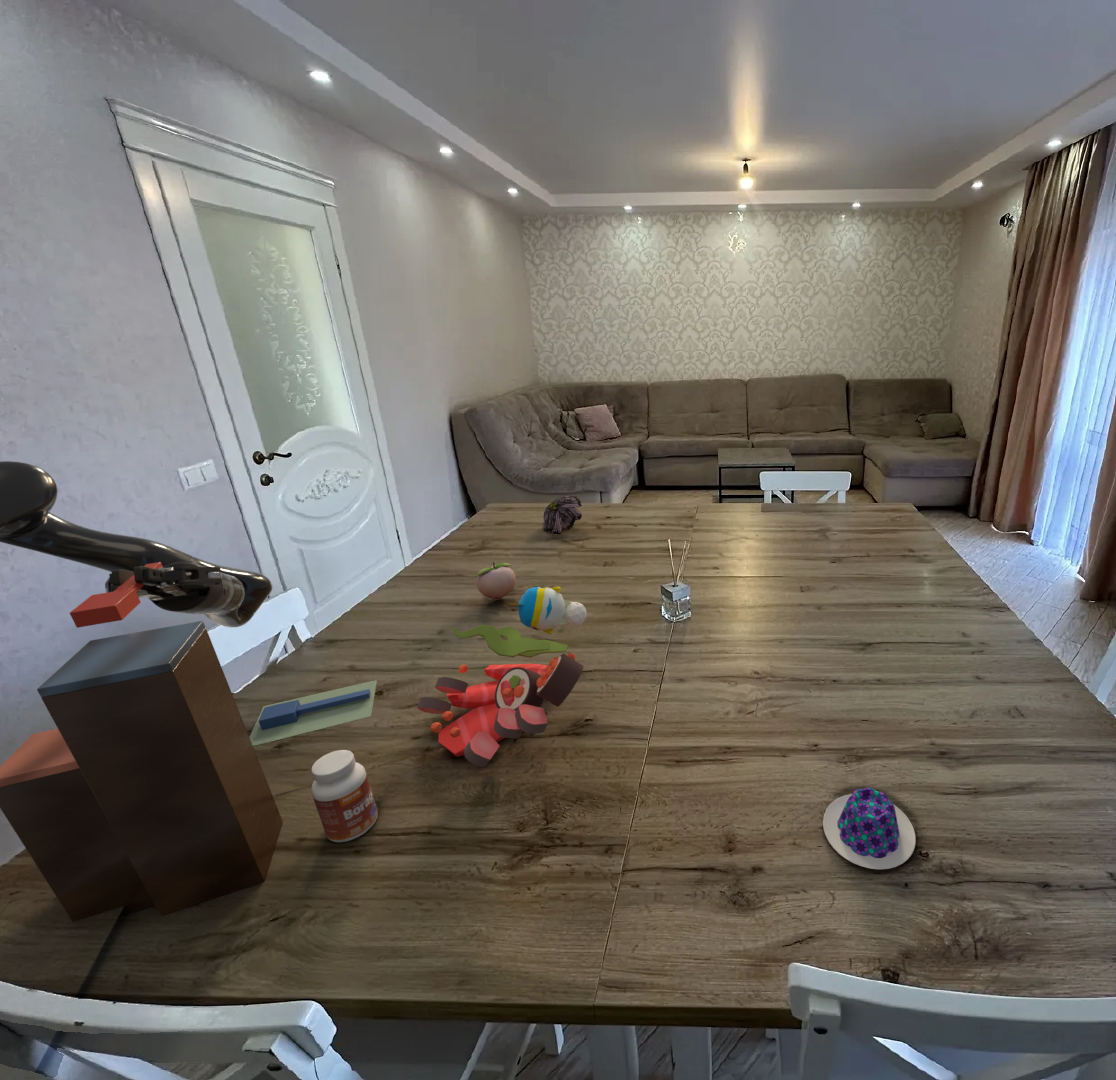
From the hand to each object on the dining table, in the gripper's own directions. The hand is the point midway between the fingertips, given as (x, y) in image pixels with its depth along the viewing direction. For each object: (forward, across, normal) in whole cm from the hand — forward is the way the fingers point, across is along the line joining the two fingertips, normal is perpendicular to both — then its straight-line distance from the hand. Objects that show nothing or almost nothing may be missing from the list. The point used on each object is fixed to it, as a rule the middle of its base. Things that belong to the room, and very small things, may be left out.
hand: (127, 575), depth 72 cm
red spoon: (0, 0, +3) cm, 3 cm away
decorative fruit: (-57, +44, +8) cm, 73 cm away
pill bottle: (-2, +20, +39) cm, 44 cm away
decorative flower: (-97, +68, -15) cm, 119 cm away
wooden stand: (-2, +2, +39) cm, 39 cm away
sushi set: (-16, +42, +31) cm, 55 cm away
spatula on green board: (-29, +10, +24) cm, 39 cm away
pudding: (+25, +83, +55) cm, 102 cm away
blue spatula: (-29, +11, +23) cm, 39 cm away
